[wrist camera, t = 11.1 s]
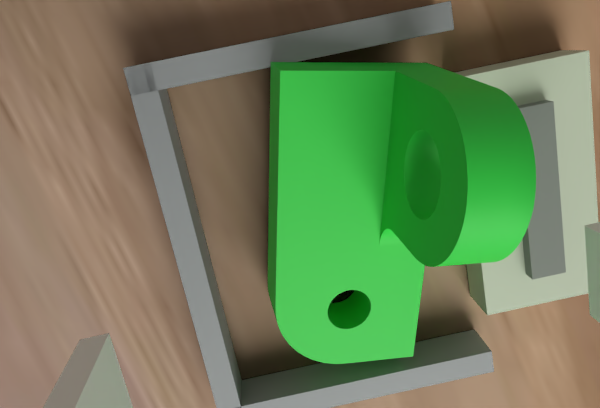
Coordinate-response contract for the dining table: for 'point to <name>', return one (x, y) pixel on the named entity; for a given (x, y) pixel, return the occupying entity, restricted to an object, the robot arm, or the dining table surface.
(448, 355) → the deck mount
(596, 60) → the dining table surface
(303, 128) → the mechanical part
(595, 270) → the robot arm
